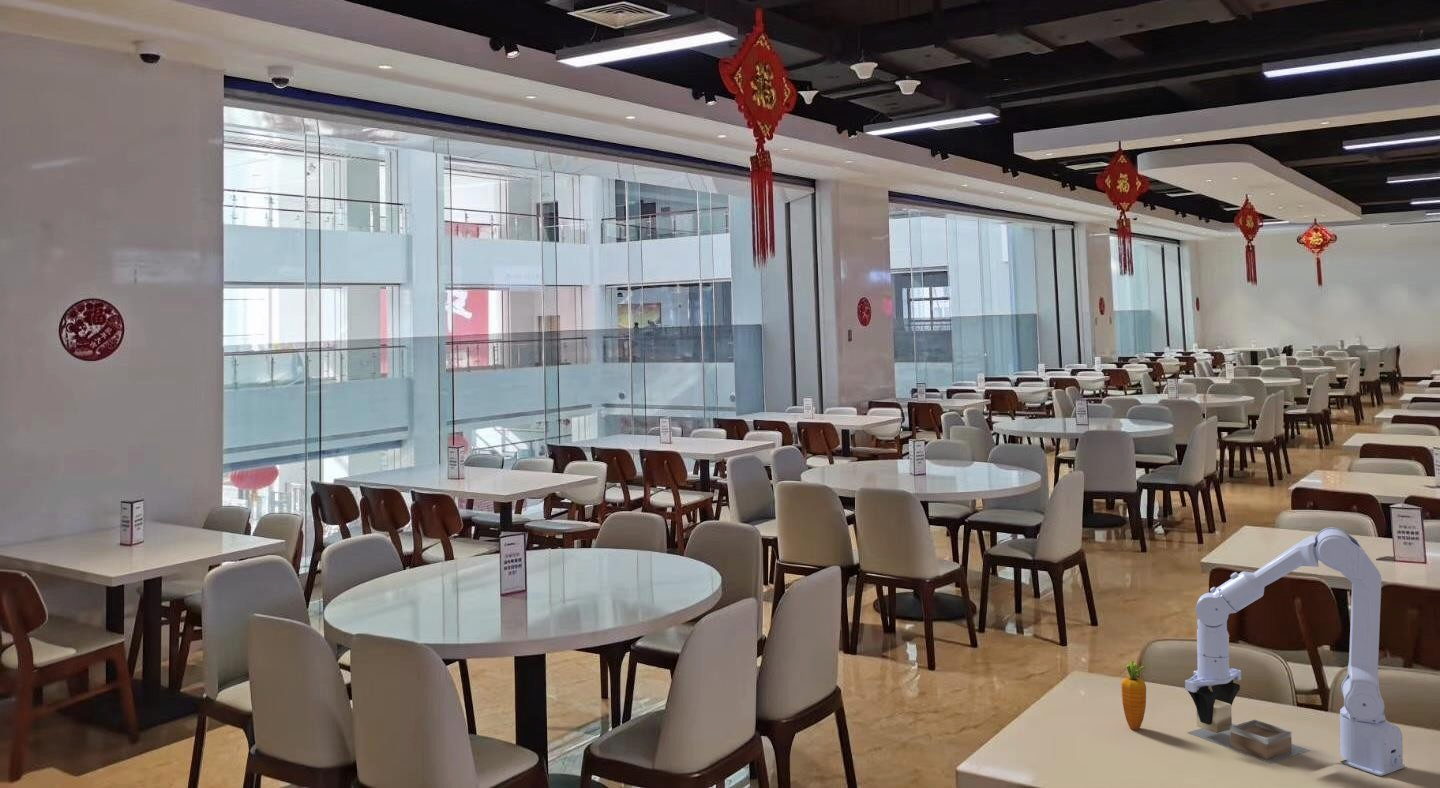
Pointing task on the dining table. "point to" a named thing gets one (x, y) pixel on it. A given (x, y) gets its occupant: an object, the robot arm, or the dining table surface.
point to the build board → (1225, 741)
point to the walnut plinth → (1261, 739)
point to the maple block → (1218, 718)
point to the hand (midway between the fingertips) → (1214, 720)
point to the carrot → (1134, 697)
